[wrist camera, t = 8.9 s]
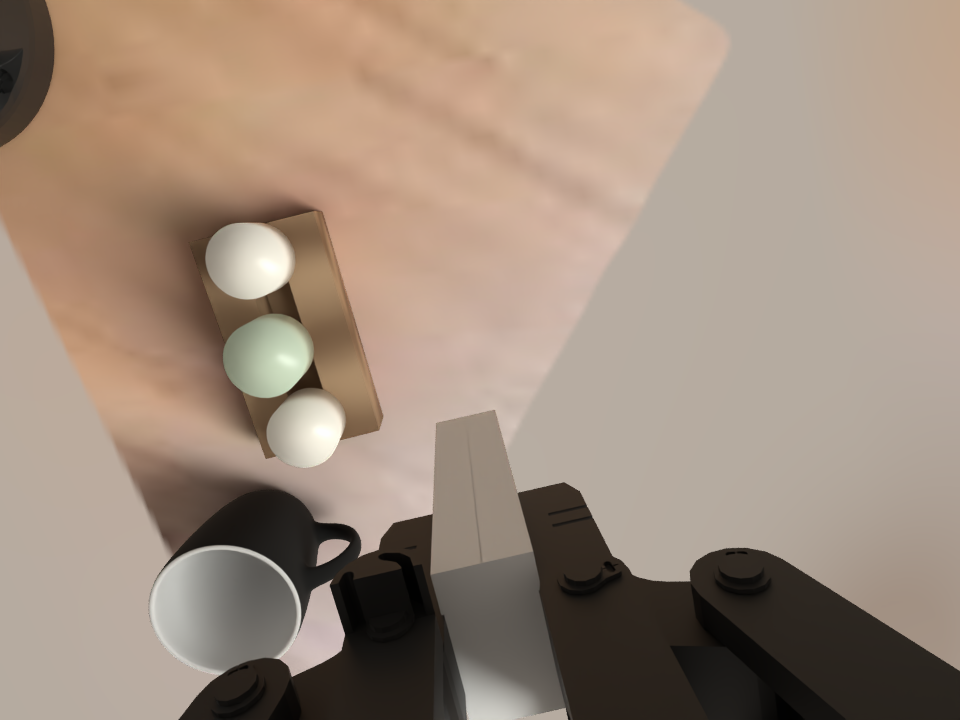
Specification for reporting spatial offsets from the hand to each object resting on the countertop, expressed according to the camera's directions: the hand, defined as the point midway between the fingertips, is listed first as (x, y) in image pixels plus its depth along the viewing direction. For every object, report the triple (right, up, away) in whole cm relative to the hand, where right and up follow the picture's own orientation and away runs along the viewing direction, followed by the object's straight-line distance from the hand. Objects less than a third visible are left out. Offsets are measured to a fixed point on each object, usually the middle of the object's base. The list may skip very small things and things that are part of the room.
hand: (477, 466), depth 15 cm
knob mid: (-12, +4, +24) cm, 27 cm away
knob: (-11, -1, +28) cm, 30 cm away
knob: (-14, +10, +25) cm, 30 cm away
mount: (-13, +5, +27) cm, 30 cm away
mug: (-14, -10, +31) cm, 35 cm away
